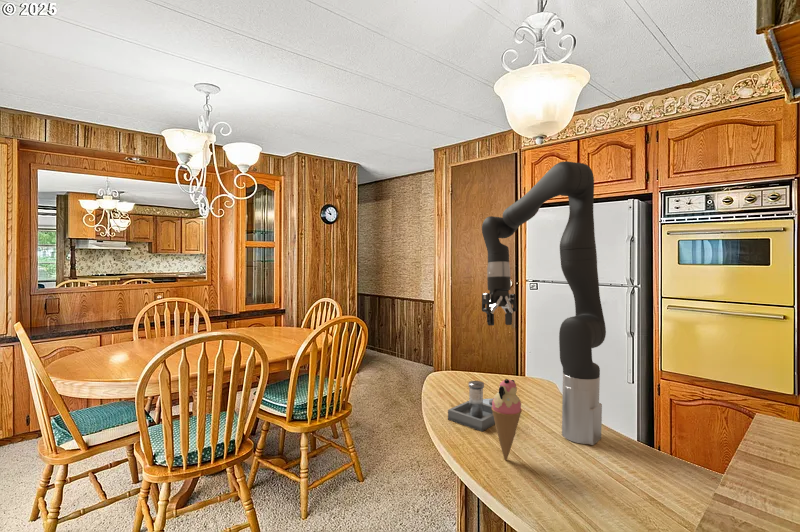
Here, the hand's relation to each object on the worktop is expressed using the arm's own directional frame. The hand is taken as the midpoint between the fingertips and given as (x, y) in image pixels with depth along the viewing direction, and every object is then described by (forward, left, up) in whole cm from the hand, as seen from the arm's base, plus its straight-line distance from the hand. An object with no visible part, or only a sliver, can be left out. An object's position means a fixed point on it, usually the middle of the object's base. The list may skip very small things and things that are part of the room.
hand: (499, 325), depth 139 cm
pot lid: (-1, +5, -26) cm, 27 cm away
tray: (-2, +16, -26) cm, 31 cm away
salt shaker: (-2, +16, -25) cm, 30 cm away
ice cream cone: (-21, +31, -26) cm, 46 cm away
